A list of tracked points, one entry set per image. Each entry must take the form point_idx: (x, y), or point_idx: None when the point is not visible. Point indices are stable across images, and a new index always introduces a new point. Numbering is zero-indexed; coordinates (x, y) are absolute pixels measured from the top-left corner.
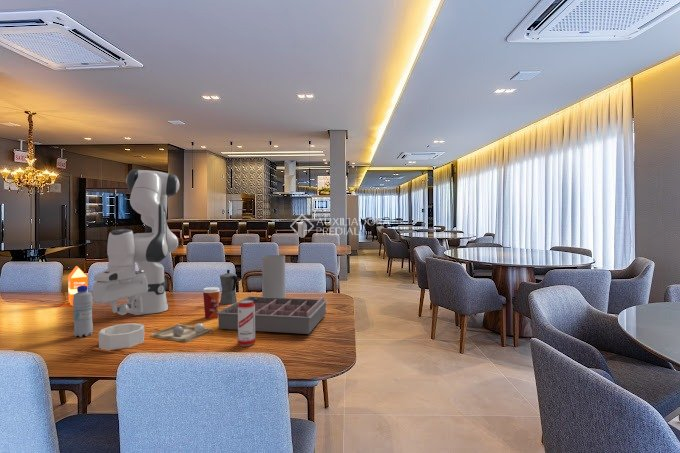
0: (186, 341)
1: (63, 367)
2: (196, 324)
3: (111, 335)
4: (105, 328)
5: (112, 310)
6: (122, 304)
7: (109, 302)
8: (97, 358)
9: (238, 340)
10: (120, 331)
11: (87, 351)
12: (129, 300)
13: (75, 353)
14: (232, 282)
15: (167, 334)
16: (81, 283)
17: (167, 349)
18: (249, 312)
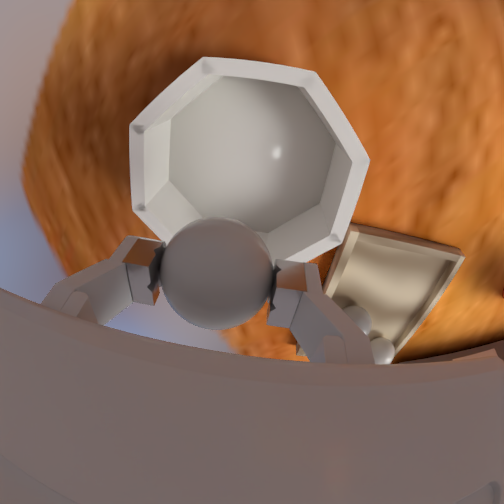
0: (296, 350)
1: (36, 168)
2: (382, 359)
3: (137, 214)
4: (222, 66)
5: (122, 241)
6: (193, 318)
7: (51, 294)
8: (102, 196)
9: None
10: (310, 101)
11: (128, 94)
12: (324, 328)
13: (101, 74)
14: None
15: (373, 269)
16: None
17: (240, 329)
18: None
